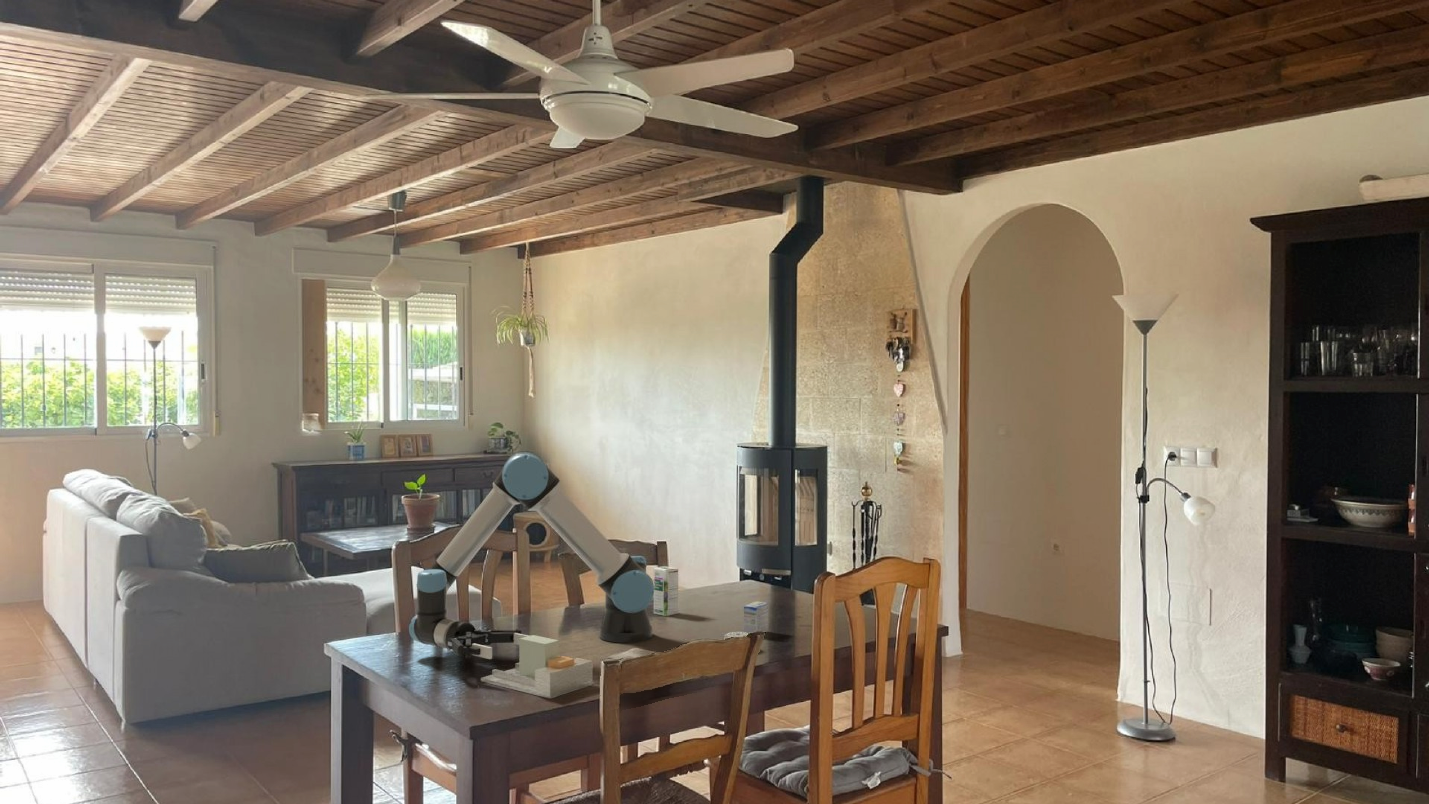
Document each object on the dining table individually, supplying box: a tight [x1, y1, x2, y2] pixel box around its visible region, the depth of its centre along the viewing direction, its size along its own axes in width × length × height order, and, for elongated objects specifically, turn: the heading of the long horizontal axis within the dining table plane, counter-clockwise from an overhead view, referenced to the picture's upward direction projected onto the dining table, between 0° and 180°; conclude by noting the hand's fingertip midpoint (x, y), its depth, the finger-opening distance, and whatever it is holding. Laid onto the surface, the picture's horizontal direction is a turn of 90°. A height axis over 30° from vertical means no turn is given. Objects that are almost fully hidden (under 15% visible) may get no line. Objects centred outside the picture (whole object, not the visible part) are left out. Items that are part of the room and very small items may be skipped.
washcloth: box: [606, 647, 655, 660], centre depth 273 cm, size 12×18×3 cm, turn 55°
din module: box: [518, 634, 560, 679], centre depth 255 cm, size 4×9×10 cm, turn 52°
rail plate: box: [480, 657, 594, 700], centre depth 256 cm, size 14×24×6 cm, turn 53°
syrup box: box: [653, 566, 679, 617], centre depth 332 cm, size 6×6×14 cm
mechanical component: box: [723, 631, 748, 639], centre depth 288 cm, size 10×4×10 cm
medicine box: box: [743, 601, 770, 633], centre depth 305 cm, size 8×4×9 cm, turn 152°
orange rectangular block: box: [548, 655, 574, 669], centre depth 250 cm, size 5×4×6 cm
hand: (512, 647), depth 261 cm, fingers open, 13 cm apart
